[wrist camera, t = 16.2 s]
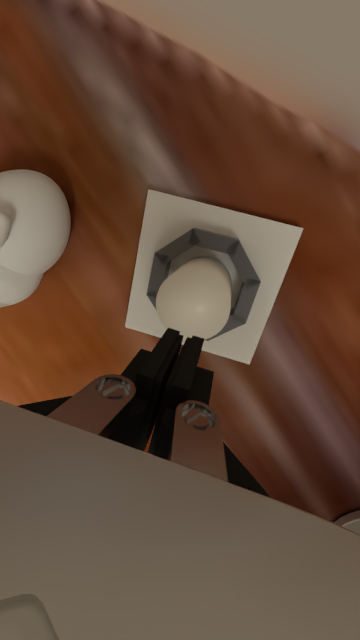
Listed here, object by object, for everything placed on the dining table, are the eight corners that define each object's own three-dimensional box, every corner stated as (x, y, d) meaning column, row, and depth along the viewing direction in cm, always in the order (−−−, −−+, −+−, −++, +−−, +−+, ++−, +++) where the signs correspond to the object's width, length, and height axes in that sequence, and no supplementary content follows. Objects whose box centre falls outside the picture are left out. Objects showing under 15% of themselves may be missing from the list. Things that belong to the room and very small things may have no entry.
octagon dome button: (300, 227, 22) (309, 229, 19) (249, 359, 27) (250, 374, 24) (151, 190, 23) (141, 186, 21) (128, 323, 28) (117, 334, 26)
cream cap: (239, 265, 23) (241, 282, 17) (221, 317, 25) (216, 350, 18) (184, 248, 23) (165, 258, 17) (170, 300, 25) (148, 327, 19)
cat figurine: (-23, 143, 15) (-128, 317, 19) (96, 234, 20) (-7, 359, 24) (10, 132, 22) (-71, 261, 26) (92, 201, 27) (13, 301, 31)
